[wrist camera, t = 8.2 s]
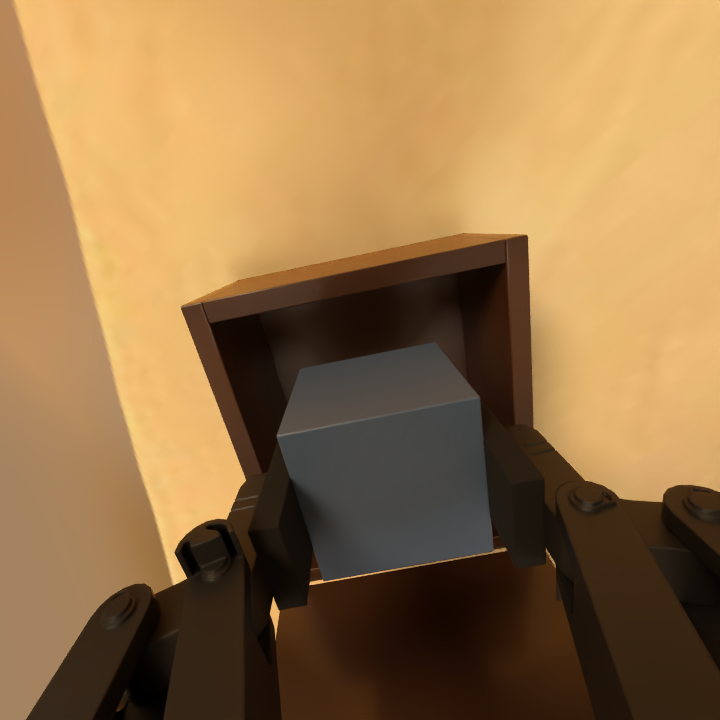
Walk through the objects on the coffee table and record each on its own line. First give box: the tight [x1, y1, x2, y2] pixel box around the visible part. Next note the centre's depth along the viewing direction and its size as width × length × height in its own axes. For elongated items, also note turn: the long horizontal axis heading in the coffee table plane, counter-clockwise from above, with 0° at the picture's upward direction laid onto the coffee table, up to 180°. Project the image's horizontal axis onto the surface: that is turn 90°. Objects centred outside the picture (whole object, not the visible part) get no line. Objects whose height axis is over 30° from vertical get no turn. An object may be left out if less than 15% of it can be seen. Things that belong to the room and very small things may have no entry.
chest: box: [181, 233, 533, 582], centre depth 20 cm, size 16×14×8 cm
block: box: [277, 342, 494, 581], centre depth 13 cm, size 6×6×5 cm
